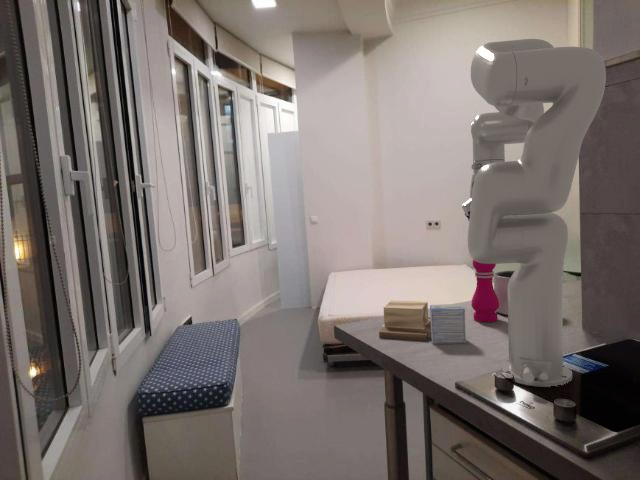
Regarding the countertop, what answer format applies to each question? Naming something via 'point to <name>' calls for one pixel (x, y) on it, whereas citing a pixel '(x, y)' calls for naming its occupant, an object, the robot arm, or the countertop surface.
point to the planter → (502, 290)
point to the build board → (407, 332)
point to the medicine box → (448, 323)
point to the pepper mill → (484, 294)
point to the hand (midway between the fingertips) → (490, 235)
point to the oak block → (406, 314)
